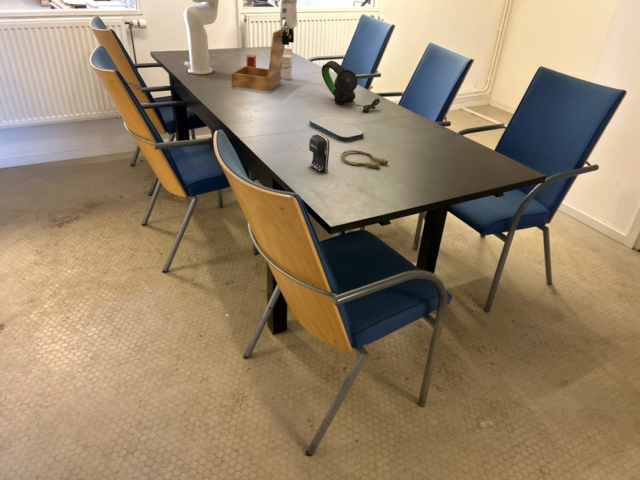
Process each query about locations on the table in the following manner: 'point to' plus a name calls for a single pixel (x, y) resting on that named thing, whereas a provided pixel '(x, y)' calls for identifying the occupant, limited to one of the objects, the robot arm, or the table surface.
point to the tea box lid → (276, 53)
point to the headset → (343, 85)
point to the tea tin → (251, 60)
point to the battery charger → (319, 153)
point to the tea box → (255, 78)
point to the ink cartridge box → (287, 64)
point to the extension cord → (370, 164)
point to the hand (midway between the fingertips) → (287, 43)
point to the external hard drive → (336, 128)
